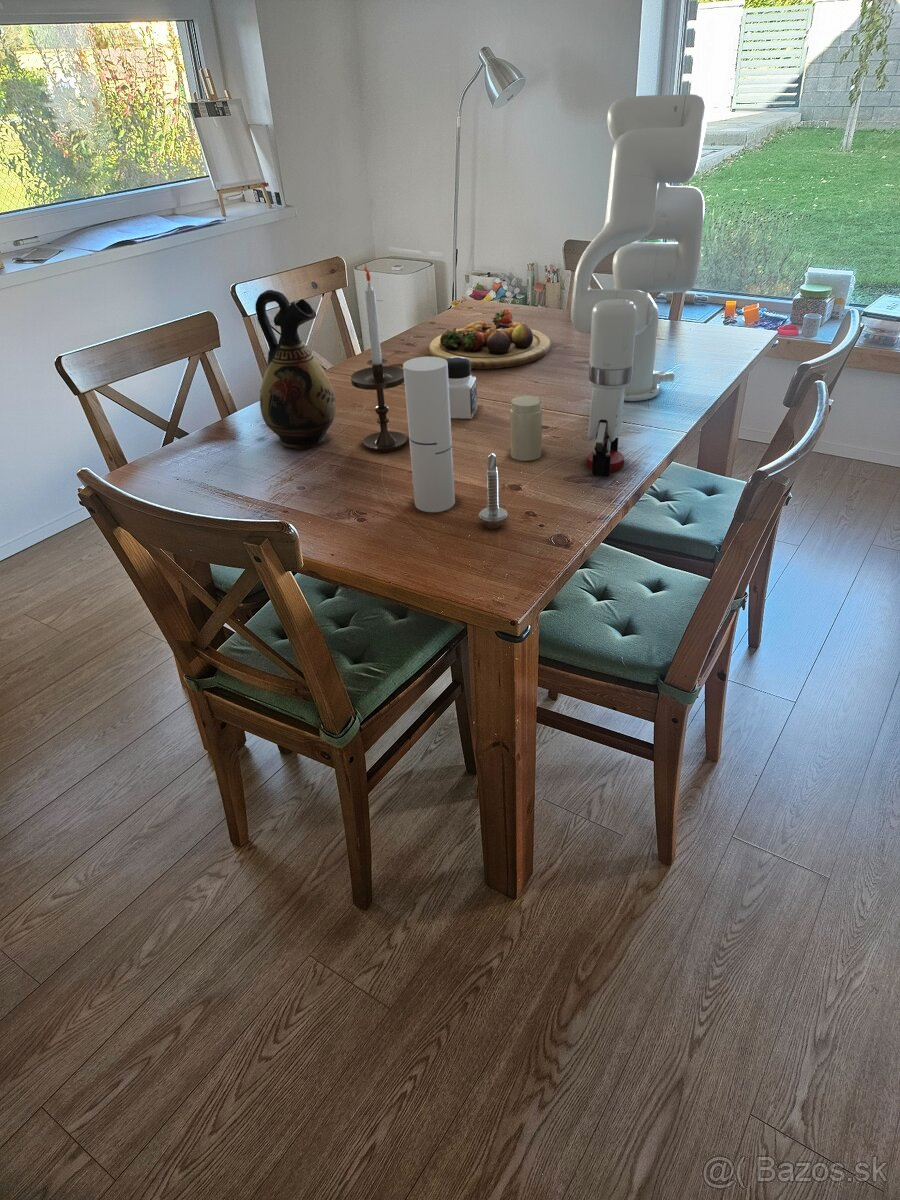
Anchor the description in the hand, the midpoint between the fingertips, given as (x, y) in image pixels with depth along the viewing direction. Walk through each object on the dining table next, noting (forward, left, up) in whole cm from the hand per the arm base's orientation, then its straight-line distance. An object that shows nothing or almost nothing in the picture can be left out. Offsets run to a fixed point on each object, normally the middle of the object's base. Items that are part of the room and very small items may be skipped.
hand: (604, 465), depth 154 cm
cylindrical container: (+34, +5, 0) cm, 34 cm away
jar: (+13, -10, 0) cm, 16 cm away
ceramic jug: (+56, -32, 0) cm, 64 cm away
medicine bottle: (+21, -36, 0) cm, 41 cm away
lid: (0, 0, +1) cm, 1 cm away
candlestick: (+39, -24, 0) cm, 45 cm away
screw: (+26, +16, 0) cm, 30 cm away
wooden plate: (+4, -77, 0) cm, 77 cm away
